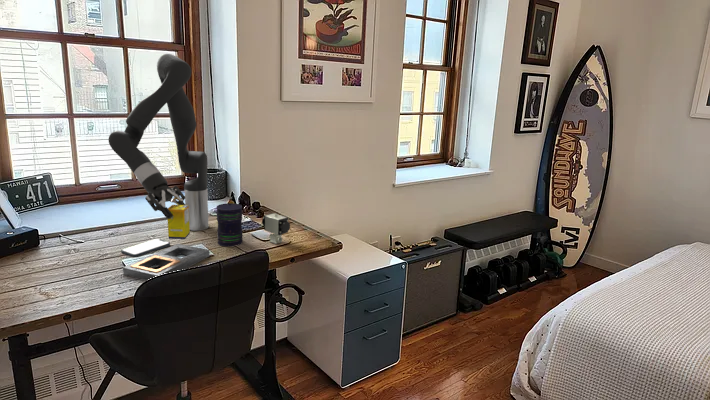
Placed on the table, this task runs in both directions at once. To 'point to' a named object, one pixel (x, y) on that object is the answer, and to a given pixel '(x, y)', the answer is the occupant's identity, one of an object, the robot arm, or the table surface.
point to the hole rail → (166, 261)
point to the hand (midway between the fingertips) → (178, 214)
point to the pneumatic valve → (276, 226)
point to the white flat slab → (145, 247)
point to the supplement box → (178, 222)
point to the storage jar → (229, 224)
